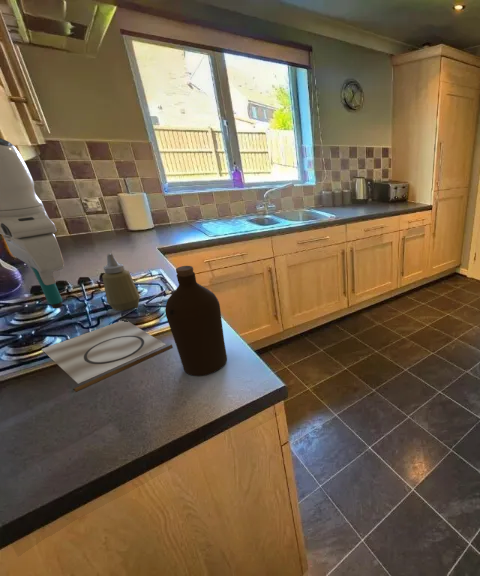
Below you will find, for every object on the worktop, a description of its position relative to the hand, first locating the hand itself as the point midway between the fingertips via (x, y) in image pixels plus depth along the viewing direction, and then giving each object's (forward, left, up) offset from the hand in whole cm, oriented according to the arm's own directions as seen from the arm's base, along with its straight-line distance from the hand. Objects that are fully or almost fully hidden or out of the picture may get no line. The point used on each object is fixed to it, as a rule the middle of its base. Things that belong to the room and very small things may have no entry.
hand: (46, 281), depth 73 cm
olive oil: (+30, +15, -20) cm, 39 cm away
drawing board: (+5, +4, -19) cm, 20 cm away
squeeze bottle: (-15, +17, -20) cm, 30 cm away
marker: (0, 0, -6) cm, 6 cm away
